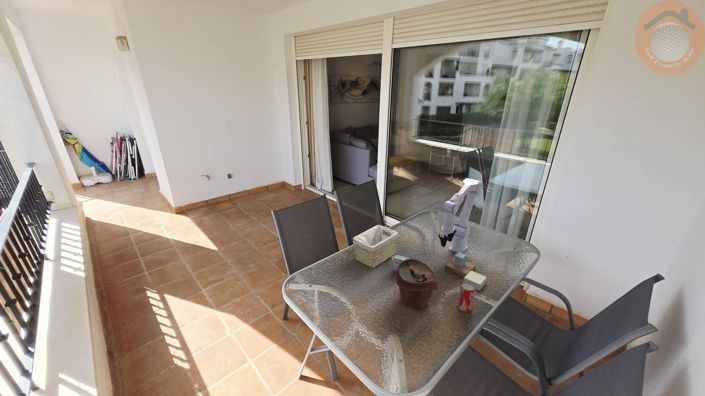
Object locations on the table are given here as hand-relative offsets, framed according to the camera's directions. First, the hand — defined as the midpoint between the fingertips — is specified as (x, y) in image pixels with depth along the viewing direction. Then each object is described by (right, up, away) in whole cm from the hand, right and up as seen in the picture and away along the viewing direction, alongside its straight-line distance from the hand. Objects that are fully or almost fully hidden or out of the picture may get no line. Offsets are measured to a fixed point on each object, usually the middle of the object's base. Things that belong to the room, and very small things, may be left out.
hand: (446, 243), depth 159 cm
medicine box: (-27, -14, -6) cm, 31 cm away
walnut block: (+6, -13, -5) cm, 15 cm away
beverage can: (-3, -24, -32) cm, 40 cm away
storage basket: (-40, -9, +9) cm, 42 cm away
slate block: (+5, -11, -6) cm, 13 cm away
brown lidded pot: (-24, -23, -27) cm, 42 cm away
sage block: (+9, -18, -17) cm, 26 cm away
